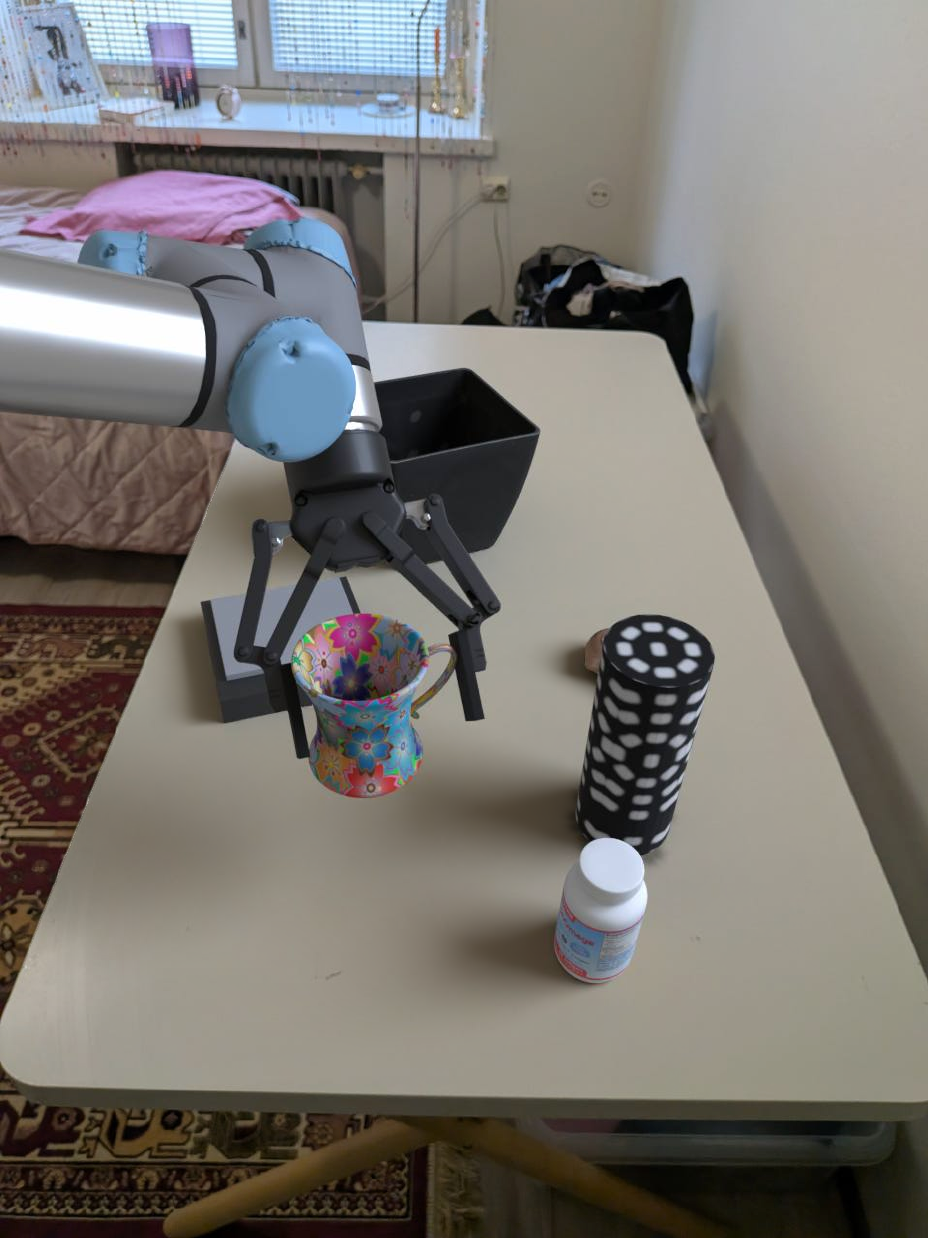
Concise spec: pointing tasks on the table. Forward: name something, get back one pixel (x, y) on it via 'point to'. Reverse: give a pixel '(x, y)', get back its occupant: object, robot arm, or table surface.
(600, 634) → the oil lamp
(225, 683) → the scale
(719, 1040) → the table surface
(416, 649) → the mug
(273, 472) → the table surface
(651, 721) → the spotted tube
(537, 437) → the flower pot
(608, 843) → the pill bottle
